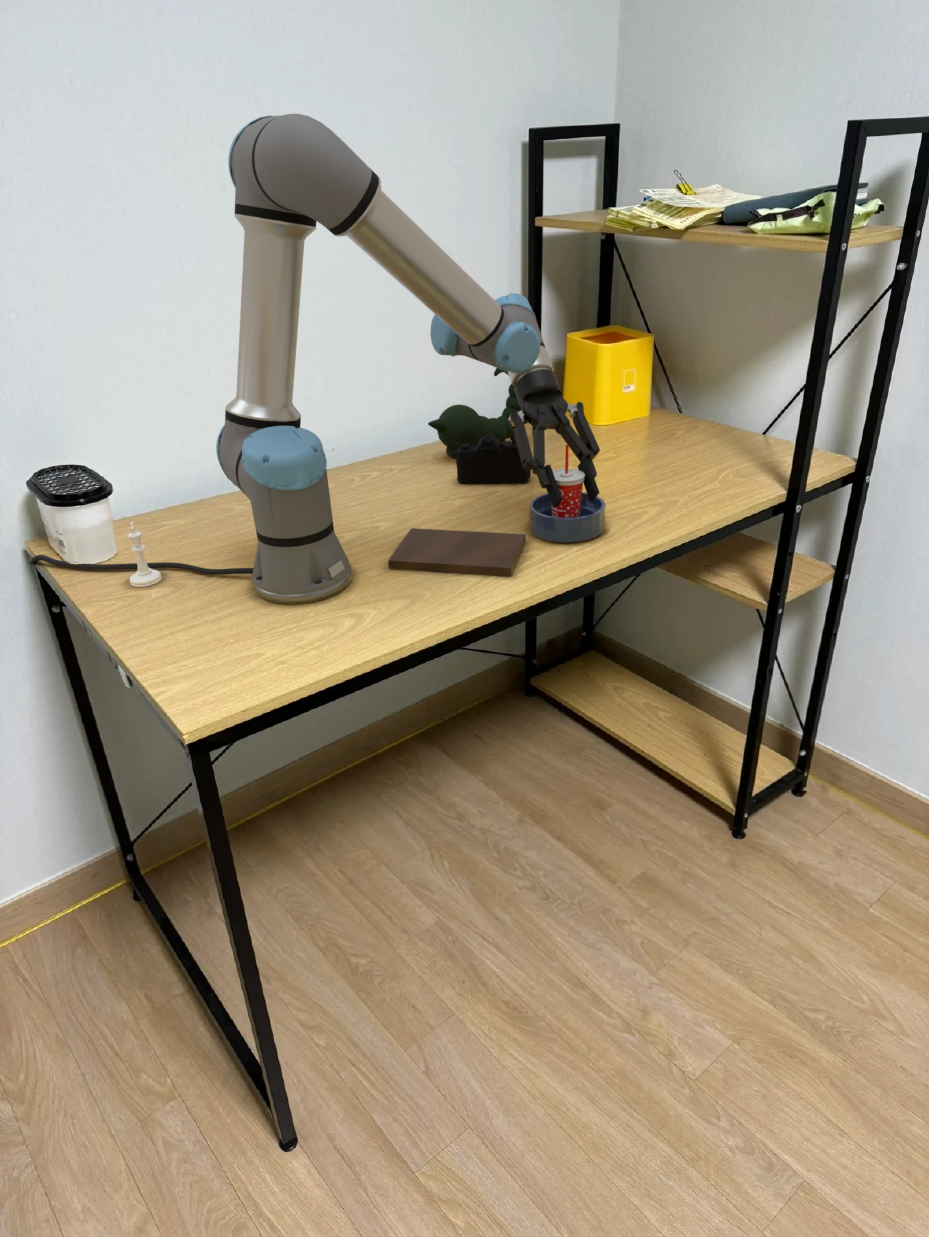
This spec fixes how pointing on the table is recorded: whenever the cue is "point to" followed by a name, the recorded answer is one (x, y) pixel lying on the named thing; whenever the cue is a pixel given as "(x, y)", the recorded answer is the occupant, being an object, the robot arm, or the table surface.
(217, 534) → the table surface
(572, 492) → the beverage cup
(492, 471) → the film camera
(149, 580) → the chess piece
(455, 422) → the toy figurine
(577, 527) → the bowl
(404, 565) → the board
